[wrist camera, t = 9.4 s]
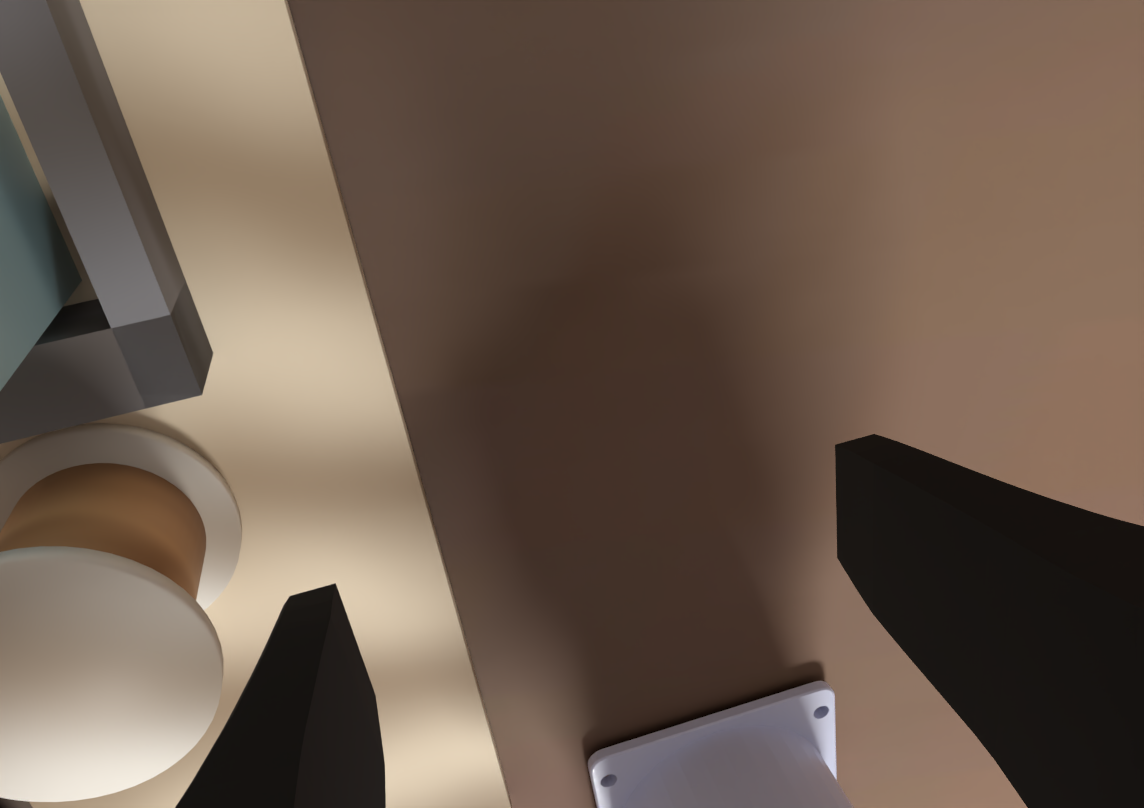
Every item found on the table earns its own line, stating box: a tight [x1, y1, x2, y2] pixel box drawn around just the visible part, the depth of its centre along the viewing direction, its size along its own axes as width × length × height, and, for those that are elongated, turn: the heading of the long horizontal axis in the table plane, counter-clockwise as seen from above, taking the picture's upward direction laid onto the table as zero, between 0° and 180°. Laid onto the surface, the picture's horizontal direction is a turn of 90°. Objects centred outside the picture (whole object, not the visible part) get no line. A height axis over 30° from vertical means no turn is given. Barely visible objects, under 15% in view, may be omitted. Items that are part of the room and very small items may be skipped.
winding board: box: [0, 0, 512, 808], centre depth 18 cm, size 26×11×6 cm, turn 9°
